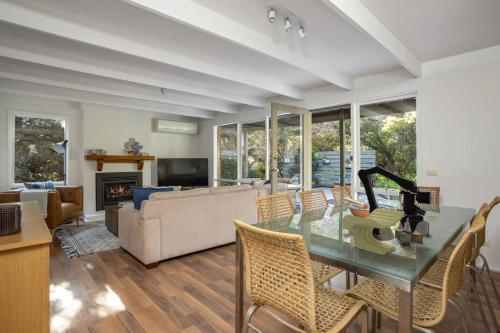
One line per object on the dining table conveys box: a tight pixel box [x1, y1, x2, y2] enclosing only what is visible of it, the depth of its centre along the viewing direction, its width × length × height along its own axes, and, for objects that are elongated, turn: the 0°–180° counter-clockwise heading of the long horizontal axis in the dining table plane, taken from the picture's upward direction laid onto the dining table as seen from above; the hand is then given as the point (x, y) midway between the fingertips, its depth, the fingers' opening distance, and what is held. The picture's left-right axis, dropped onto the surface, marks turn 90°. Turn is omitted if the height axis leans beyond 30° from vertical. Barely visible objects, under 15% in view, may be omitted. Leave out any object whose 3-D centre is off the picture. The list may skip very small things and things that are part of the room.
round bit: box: [399, 232, 412, 247], centre depth 139 cm, size 5×5×6 cm
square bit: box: [404, 222, 413, 233], centre depth 150 cm, size 3×3×9 cm
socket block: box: [394, 228, 424, 243], centre depth 150 cm, size 10×10×4 cm
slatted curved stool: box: [342, 207, 404, 256], centre depth 135 cm, size 30×16×18 cm, turn 127°
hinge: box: [396, 218, 430, 237], centre depth 164 cm, size 17×5×10 cm, turn 37°
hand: (408, 230), depth 150 cm, fingers open, 9 cm apart
